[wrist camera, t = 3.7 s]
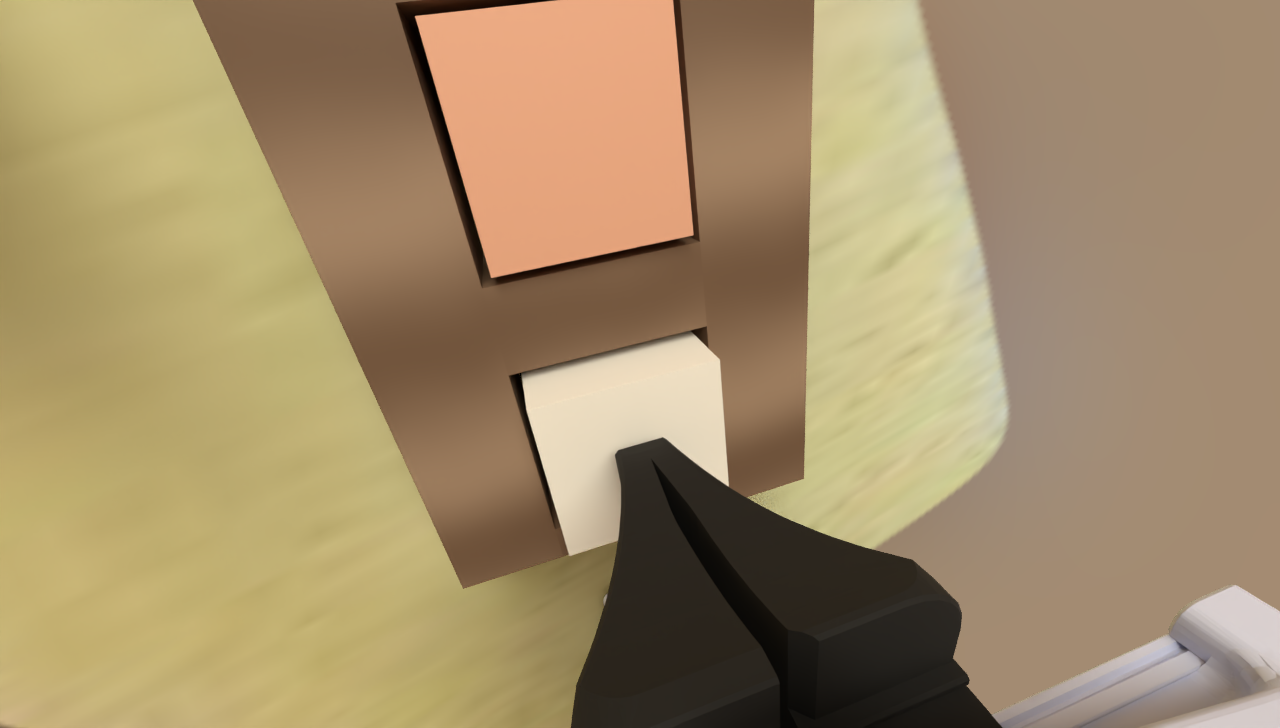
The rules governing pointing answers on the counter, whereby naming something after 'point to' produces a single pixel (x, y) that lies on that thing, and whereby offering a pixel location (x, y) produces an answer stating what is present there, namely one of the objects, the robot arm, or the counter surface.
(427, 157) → the key console
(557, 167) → the terracotta key
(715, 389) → the offwhite key
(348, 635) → the counter surface
